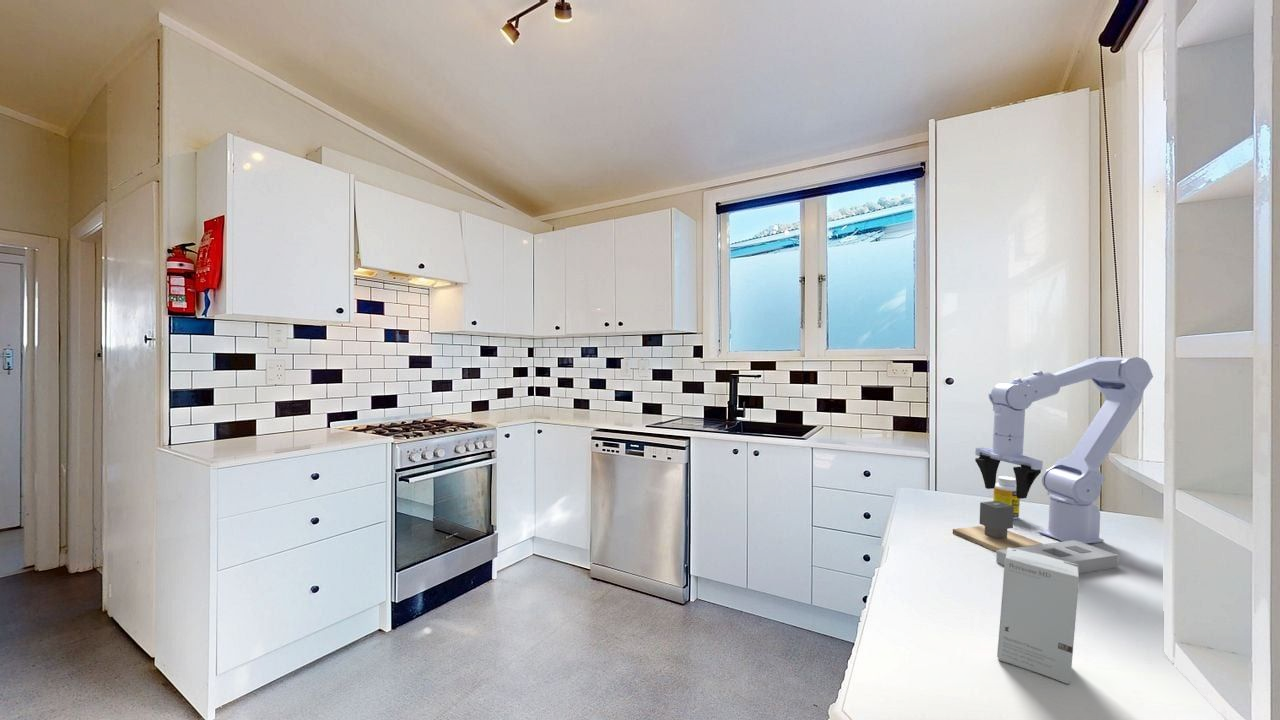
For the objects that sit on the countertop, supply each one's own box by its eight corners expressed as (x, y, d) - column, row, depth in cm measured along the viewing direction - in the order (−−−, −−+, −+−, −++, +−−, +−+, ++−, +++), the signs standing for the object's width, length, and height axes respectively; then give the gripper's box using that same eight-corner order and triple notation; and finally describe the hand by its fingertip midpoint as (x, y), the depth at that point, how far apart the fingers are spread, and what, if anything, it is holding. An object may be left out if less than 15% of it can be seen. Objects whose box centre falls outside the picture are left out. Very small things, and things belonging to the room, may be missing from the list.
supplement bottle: (1013, 521, 128) (1015, 481, 128) (989, 515, 133) (990, 476, 132) (1022, 517, 131) (1024, 478, 131) (998, 511, 136) (999, 474, 135)
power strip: (1074, 551, 110) (1074, 537, 110) (1117, 567, 102) (1118, 552, 102) (996, 562, 104) (996, 547, 104) (1036, 579, 96) (1036, 563, 96)
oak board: (991, 528, 123) (991, 524, 123) (1042, 548, 111) (1042, 543, 111) (952, 533, 120) (952, 529, 120) (1000, 553, 108) (1001, 549, 108)
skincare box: (996, 660, 71) (1000, 557, 71) (1001, 641, 76) (1004, 544, 75) (1075, 687, 66) (1079, 575, 65) (1074, 665, 71) (1078, 560, 70)
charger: (995, 532, 118) (996, 500, 118) (1012, 538, 114) (1013, 505, 114) (979, 534, 117) (980, 502, 116) (995, 540, 113) (996, 507, 113)
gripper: (966, 429, 123) (964, 485, 123) (1026, 441, 109) (1023, 503, 109) (989, 429, 125) (986, 483, 125) (1051, 440, 111) (1047, 501, 111)
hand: (1005, 493), depth 117 cm, fingers open, 7 cm apart
